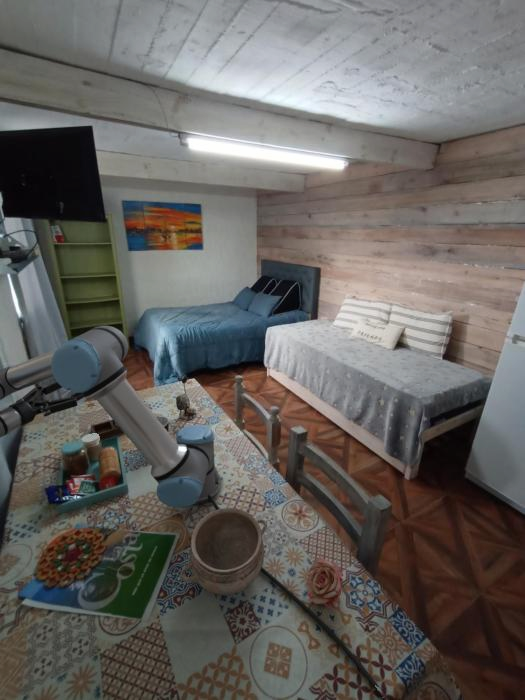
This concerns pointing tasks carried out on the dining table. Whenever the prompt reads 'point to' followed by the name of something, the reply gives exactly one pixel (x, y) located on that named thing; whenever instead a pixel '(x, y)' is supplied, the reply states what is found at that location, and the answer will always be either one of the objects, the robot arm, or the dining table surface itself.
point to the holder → (106, 429)
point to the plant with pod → (184, 404)
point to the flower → (324, 582)
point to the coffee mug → (164, 422)
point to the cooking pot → (226, 551)
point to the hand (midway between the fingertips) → (74, 387)
